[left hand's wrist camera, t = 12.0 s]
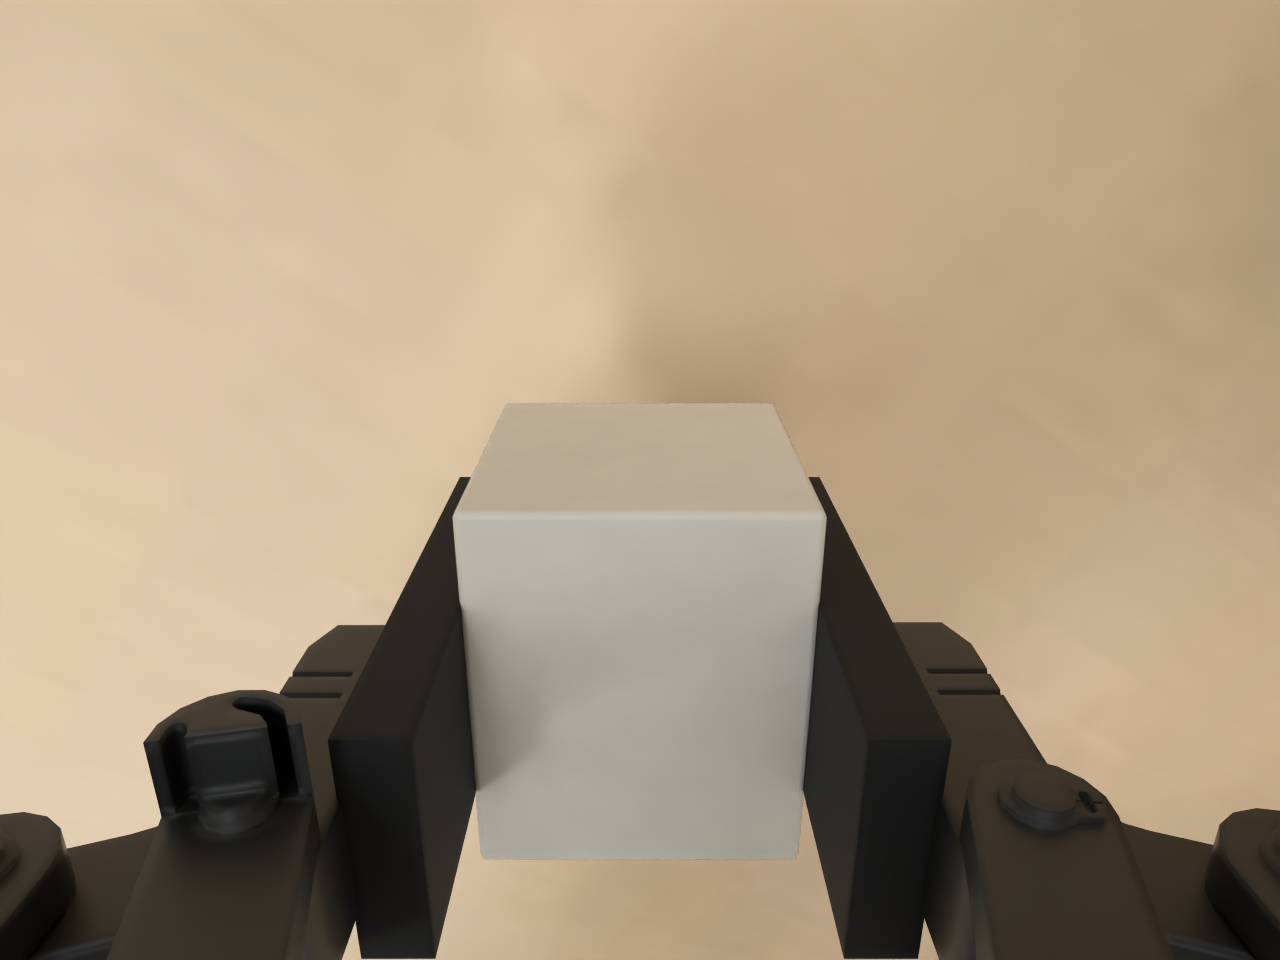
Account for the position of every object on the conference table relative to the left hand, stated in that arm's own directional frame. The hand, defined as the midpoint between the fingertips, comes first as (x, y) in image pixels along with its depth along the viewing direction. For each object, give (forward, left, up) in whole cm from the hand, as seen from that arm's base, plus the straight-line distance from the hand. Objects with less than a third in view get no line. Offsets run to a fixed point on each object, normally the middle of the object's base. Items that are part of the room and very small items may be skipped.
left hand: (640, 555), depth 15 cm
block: (0, 0, 0) cm, 0 cm away
